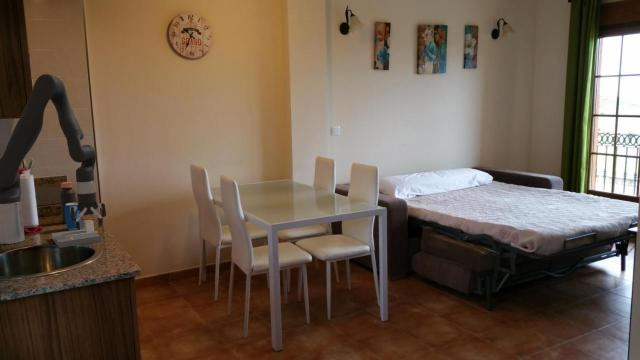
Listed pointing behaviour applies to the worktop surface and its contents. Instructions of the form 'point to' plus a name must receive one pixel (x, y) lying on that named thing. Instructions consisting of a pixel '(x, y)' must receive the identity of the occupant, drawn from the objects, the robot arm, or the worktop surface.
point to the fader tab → (89, 226)
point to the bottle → (66, 197)
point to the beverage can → (69, 223)
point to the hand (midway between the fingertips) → (89, 228)
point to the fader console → (75, 238)
